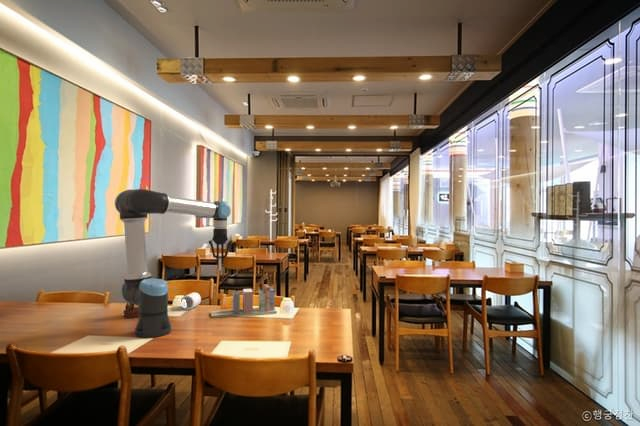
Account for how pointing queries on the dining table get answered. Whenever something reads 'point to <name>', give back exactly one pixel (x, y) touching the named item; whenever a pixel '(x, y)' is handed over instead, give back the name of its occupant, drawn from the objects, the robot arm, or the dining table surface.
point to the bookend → (236, 302)
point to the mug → (192, 300)
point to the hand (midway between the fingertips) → (219, 269)
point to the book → (247, 300)
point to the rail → (264, 308)
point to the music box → (131, 311)
